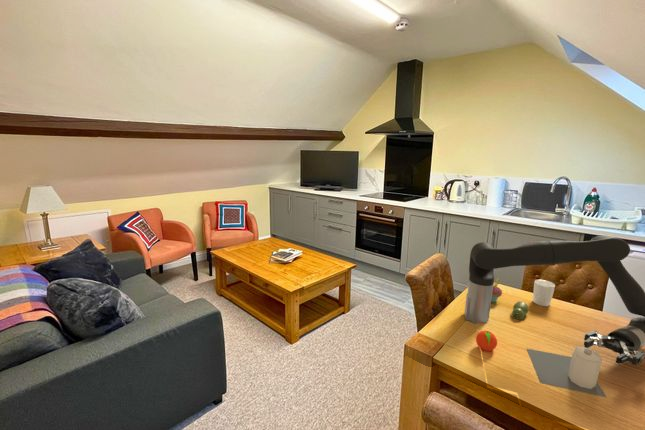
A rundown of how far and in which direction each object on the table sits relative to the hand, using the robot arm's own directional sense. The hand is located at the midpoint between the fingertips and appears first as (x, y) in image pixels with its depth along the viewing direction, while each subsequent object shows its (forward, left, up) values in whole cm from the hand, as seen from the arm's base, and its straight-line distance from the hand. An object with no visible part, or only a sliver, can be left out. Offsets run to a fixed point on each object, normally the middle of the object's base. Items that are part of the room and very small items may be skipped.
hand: (601, 352), depth 103 cm
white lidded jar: (-6, -6, -8) cm, 11 cm away
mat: (-10, -2, -8) cm, 13 cm away
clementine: (-33, +2, -8) cm, 34 cm away
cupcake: (-26, +44, -8) cm, 51 cm away
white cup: (-4, +49, -8) cm, 49 cm away
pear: (-16, +33, -8) cm, 37 cm away
